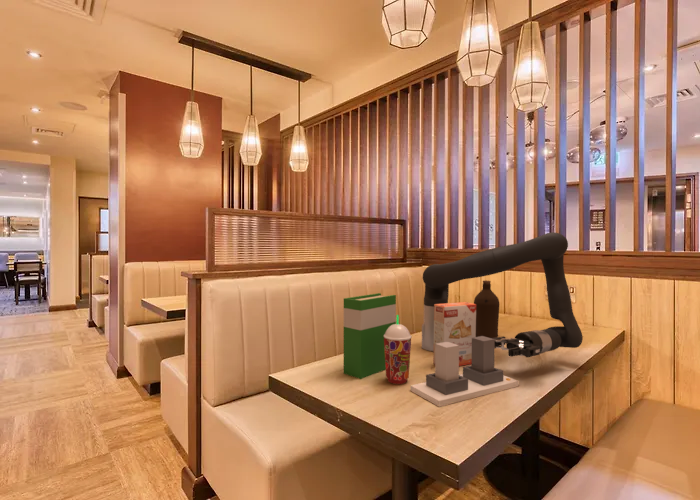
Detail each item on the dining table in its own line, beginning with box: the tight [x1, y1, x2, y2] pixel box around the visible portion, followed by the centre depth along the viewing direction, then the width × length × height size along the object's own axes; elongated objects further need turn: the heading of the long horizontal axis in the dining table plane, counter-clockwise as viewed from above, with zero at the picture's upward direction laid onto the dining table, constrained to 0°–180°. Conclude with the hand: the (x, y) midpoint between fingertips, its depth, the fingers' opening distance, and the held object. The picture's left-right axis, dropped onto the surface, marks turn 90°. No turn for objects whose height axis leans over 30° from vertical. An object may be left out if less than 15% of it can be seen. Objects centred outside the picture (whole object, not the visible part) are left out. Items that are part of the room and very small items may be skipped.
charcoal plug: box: [471, 336, 496, 374], centre depth 113 cm, size 4×4×12 cm
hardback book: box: [343, 292, 397, 380], centre depth 126 cm, size 18×7×24 cm, turn 136°
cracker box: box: [432, 301, 476, 367], centre depth 132 cm, size 14×6×21 cm, turn 115°
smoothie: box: [384, 314, 412, 385], centre depth 116 cm, size 8×8×20 cm
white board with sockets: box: [409, 342, 520, 408], centre depth 110 cm, size 12×30×14 cm, turn 118°
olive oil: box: [473, 280, 500, 338], centre depth 168 cm, size 11×11×25 cm
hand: (497, 349), depth 116 cm, fingers open, 8 cm apart
